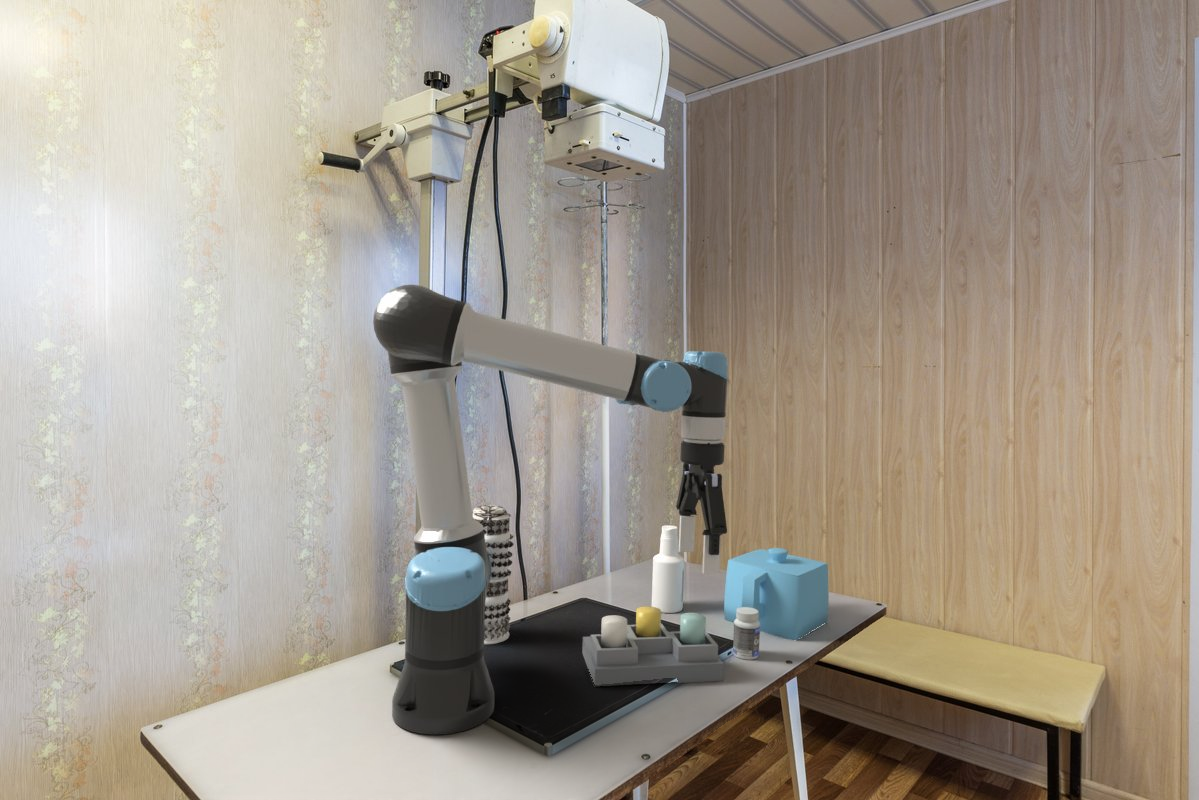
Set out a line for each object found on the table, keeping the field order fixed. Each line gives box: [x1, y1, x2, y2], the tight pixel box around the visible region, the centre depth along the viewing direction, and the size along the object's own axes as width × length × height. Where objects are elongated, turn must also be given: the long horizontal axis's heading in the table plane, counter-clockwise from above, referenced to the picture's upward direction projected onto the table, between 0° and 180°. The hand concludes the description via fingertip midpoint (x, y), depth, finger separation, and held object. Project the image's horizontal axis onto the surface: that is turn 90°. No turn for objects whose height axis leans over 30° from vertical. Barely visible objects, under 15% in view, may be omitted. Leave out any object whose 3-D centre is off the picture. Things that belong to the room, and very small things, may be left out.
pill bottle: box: [732, 607, 761, 660], centre depth 132 cm, size 5×5×8 cm
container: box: [723, 547, 830, 641], centre depth 151 cm, size 17×25×15 cm
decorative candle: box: [472, 504, 514, 645], centre depth 138 cm, size 9×9×25 cm
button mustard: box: [635, 605, 662, 637], centre depth 128 cm, size 4×4×4 cm
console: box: [581, 623, 725, 685], centre depth 126 cm, size 22×14×6 cm, turn 100°
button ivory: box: [600, 614, 628, 648], centre depth 123 cm, size 4×4×4 cm
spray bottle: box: [651, 524, 685, 614], centre depth 156 cm, size 7×7×18 cm
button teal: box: [679, 612, 707, 645], centre depth 125 cm, size 4×4×4 cm
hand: (697, 561), depth 125 cm, fingers open, 13 cm apart
